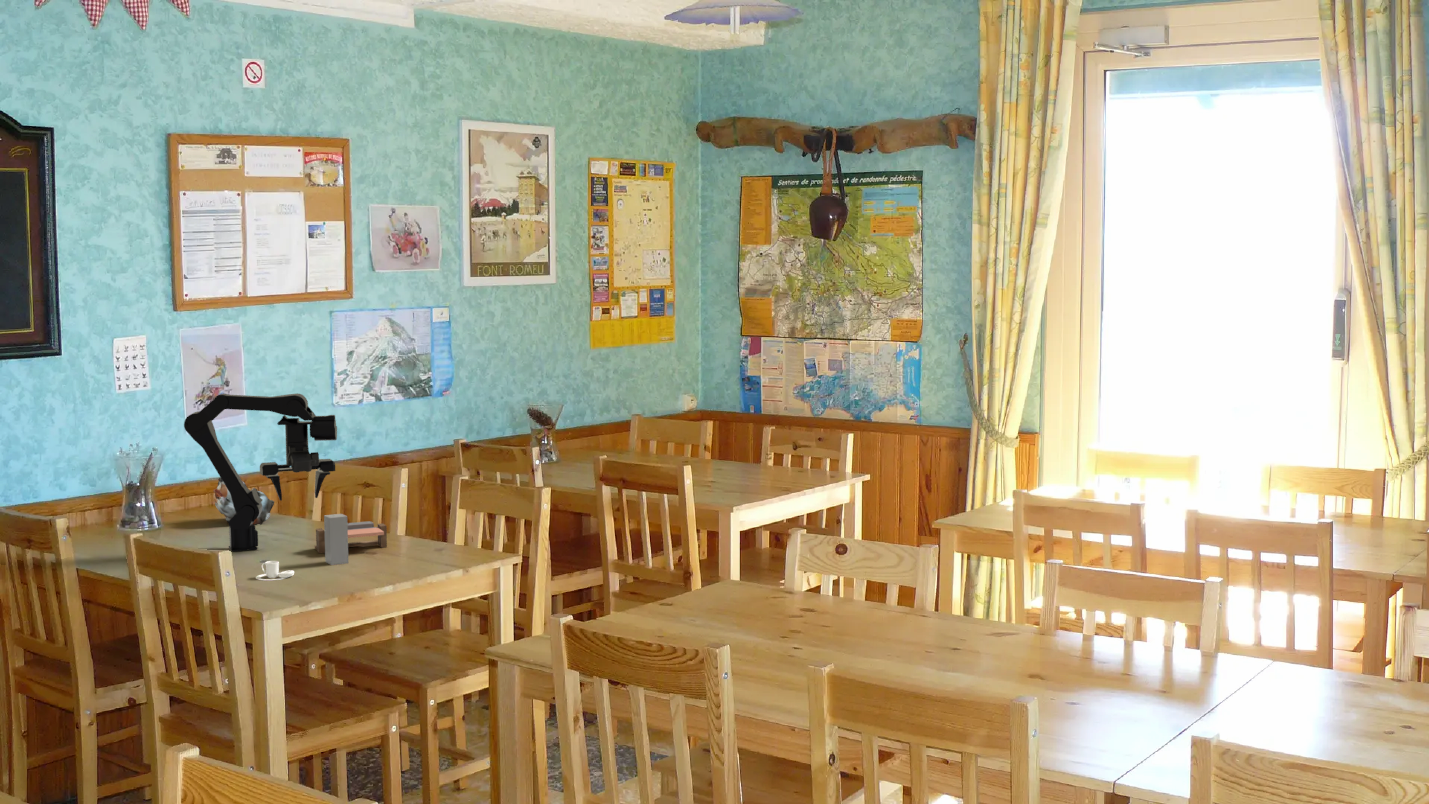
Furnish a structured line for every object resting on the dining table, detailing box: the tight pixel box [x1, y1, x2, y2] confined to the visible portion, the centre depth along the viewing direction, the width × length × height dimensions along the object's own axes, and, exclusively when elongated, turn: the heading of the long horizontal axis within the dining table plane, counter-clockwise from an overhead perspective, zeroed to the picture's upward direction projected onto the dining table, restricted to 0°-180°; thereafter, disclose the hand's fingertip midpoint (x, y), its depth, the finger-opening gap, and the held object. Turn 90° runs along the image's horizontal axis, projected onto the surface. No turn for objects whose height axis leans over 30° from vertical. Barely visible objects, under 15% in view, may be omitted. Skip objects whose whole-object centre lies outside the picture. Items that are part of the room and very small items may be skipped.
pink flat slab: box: [347, 520, 384, 539], centre depth 355 cm, size 14×11×3 cm
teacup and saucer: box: [255, 560, 295, 582], centre depth 324 cm, size 9×8×4 cm
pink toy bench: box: [314, 523, 388, 554], centre depth 358 cm, size 18×7×6 cm, turn 117°
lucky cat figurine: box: [212, 477, 275, 526], centre depth 395 cm, size 17×14×16 cm
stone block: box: [323, 513, 349, 566], centre depth 340 cm, size 4×4×12 cm
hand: (298, 499), depth 358 cm, fingers open, 9 cm apart
